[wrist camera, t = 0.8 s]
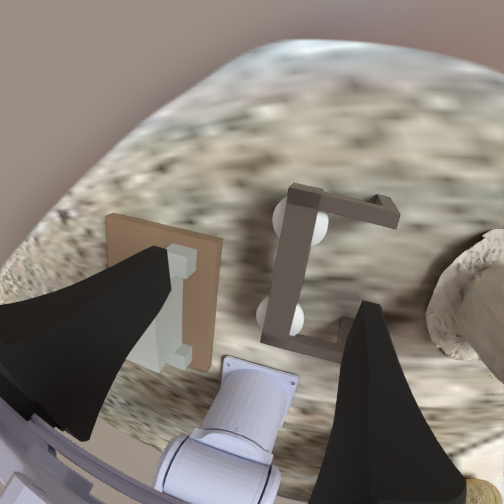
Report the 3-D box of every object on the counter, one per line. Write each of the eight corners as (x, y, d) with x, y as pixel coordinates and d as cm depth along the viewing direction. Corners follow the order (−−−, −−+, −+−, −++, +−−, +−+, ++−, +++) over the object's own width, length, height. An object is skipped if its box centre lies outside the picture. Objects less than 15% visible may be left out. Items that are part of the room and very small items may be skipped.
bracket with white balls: (266, 307, 28) (250, 339, 24) (290, 173, 23) (276, 184, 19) (349, 328, 27) (347, 364, 22) (389, 197, 22) (400, 214, 17)
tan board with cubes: (121, 330, 36) (91, 359, 30) (113, 212, 30) (70, 232, 24) (211, 365, 33) (187, 403, 28) (222, 238, 27) (190, 268, 22)
